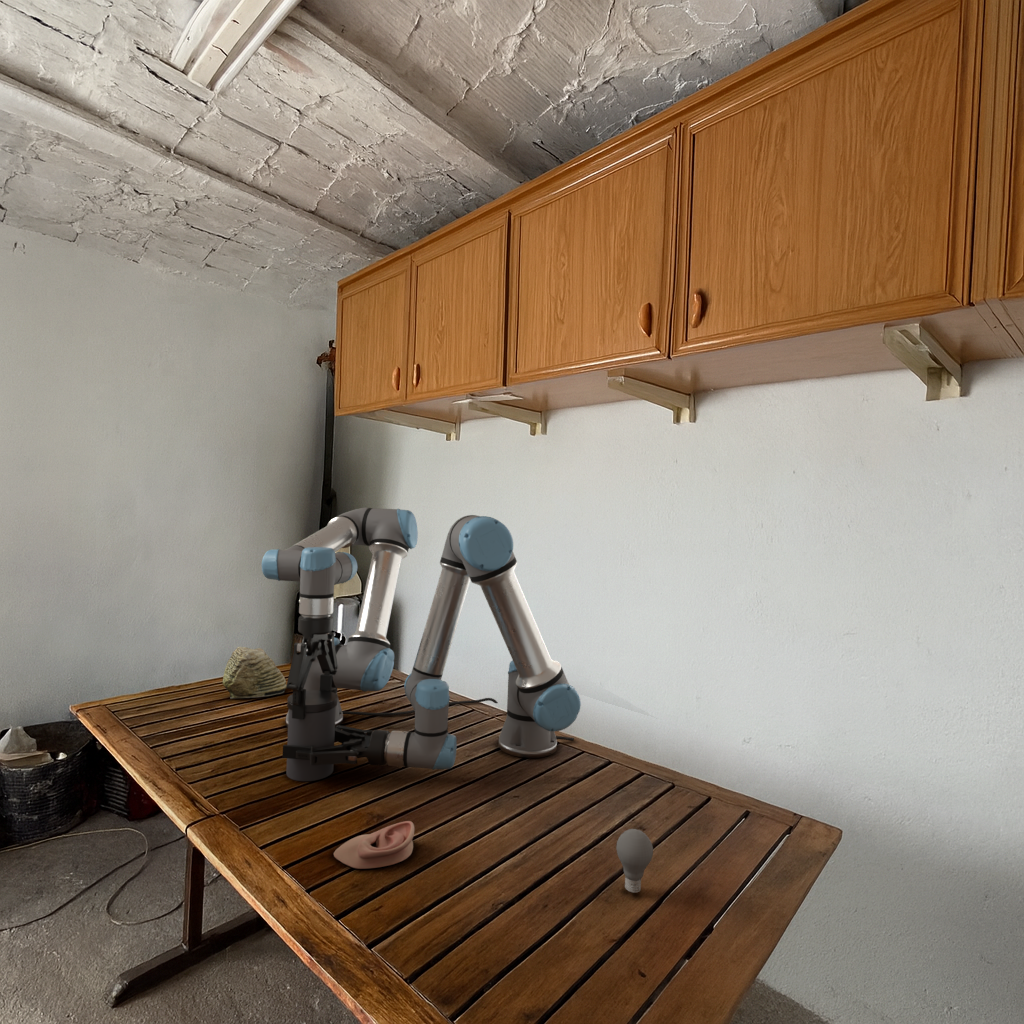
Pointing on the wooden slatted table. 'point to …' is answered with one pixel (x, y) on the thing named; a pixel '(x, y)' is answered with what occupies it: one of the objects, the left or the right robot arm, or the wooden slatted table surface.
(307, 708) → the lid
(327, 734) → the jar
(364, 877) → the wooden slatted table surface
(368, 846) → the anatomical model
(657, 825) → the wooden slatted table surface
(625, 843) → the light bulb
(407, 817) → the wooden slatted table surface
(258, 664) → the fossil
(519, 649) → the right robot arm
